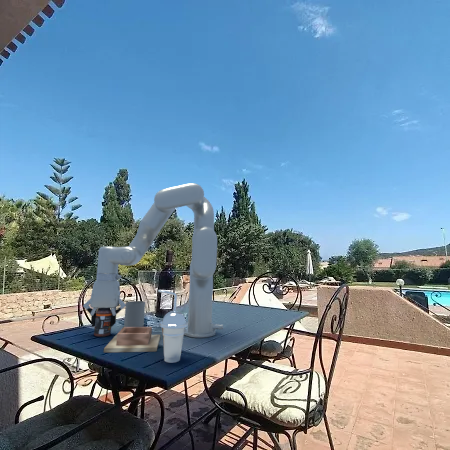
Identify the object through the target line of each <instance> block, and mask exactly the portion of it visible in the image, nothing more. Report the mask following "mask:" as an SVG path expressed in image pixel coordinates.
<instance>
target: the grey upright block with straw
mask: <svg viewBox="0 0 450 450" xmlns="http://www.w3.org/2000/svg"><path fill="white" fill-rule="evenodd" d="M157 292H158V293H162V294H166V295H171V296H174V297H173V298H174V300H173V310H171V311H169V312H167V313H166V314H165V315H164V316H163V318H162V321H160V322H159V327H160V328H161V333H162V339H163V356H164V357H163V358H164V359H163V360H164V362H166V363H177V362H179V361H181V354H182V347H183V342H184V336H185V335H184V333H185V329H187V328H188V320H186V317H185V315H184V314H183V313H182V312H180V311H178V310H177V302H178V300H177V299H178V296H177V294H176V293H175V292H173V291H168V290H164V289H163V290H162V289H158V291H157Z"/></svg>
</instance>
